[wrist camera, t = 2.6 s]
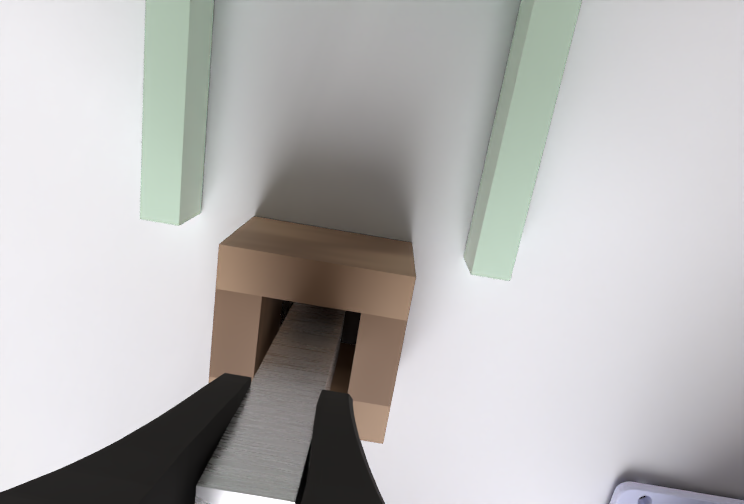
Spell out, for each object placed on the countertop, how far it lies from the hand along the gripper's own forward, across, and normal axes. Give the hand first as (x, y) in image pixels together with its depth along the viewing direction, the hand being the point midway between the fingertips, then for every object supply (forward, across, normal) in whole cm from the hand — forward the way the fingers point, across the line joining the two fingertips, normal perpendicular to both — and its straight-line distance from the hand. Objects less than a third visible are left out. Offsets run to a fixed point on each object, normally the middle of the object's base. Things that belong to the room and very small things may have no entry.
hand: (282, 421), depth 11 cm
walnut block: (+7, 0, 0) cm, 7 cm away
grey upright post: (+5, 0, 0) cm, 5 cm away
